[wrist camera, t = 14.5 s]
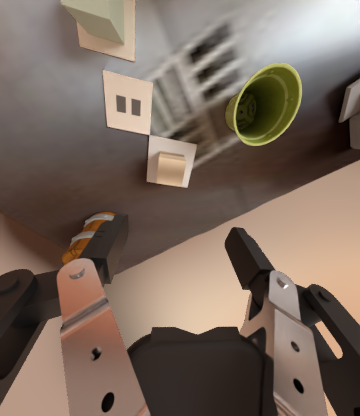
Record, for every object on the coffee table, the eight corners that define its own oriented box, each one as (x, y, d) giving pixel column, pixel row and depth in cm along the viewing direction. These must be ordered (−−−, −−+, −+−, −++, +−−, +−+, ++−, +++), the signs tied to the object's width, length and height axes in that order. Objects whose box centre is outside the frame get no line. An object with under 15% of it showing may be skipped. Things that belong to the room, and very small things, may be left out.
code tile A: (103, 70, 22) (102, 69, 22) (152, 83, 23) (152, 82, 23) (107, 126, 26) (107, 126, 26) (149, 135, 27) (149, 135, 27)
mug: (130, 213, 37) (110, 260, 25) (126, 252, 46) (110, 301, 33) (87, 205, 35) (42, 252, 23) (91, 247, 44) (60, 299, 31)
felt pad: (149, 135, 27) (149, 135, 27) (196, 144, 29) (197, 144, 29) (146, 181, 33) (146, 181, 32) (187, 187, 34) (187, 187, 34)
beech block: (160, 150, 29) (159, 156, 24) (183, 154, 30) (186, 161, 25) (158, 173, 31) (156, 183, 26) (179, 176, 32) (181, 186, 27)
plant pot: (264, 130, 28) (296, 133, 21) (220, 146, 29) (236, 154, 22) (265, 71, 23) (308, 48, 16) (212, 92, 25) (230, 80, 17)
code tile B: (67, -49, 16) (66, -53, 16) (135, -24, 18) (135, -26, 17) (80, 46, 21) (79, 45, 20) (135, 62, 22) (134, 61, 21)
